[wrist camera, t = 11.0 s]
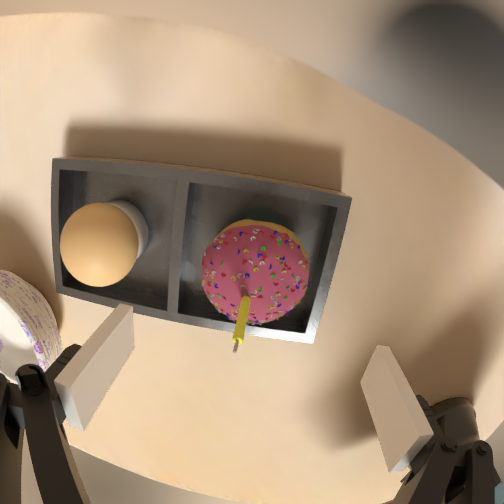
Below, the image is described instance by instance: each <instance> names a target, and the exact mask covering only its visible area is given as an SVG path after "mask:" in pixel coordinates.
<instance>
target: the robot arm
mask: <svg viewBox="0 0 504 504" xmlns="http://www.w3.org/2000/svg"><path fill="white" fill-rule="evenodd" d="M133 349H134V327H133V306H129V305H125V304H121V303H120V304H119V305H118V306H117V307H116V308H115V309H114V311H113V312H112V313H111V314H110V315H109V316H108V317H107V318H106V320H105V321H104V322H103V323H102V324H101V325H100V326H99V328H98V329H97V330H96V331H95V332H94V333H93V334H92V336H91V337H90V338H89V339H88V340H87V341H86V343H85V344H84V345H83V346H80V345H77V344H73V345H71V346H69V347H67V348H66V349H65V350H64V351H63V352H62V353H61V354H60V356H58V358H57V359H56V360H55V361H54V362H53V363H52V364H51V366H50V367H49V368H48V369H47V370H46V371H45V372H44V371H43V369H42V368H41V367H40V366H39V365H36V364H25V365H22V366H21V367H19V368H18V369H17V371H16V373H15V378H16V380H17V383H18V384H14V383H9V382H8V381H7V378H6V376H5V375H4V374H2V373H0V504H21V464H22V448H23V437H24V429H26V435H27V440H28V446H29V451H30V455H31V460H32V464H33V468H34V472H35V476H36V480H37V484H38V487H39V491H40V494H41V497H42V500H43V503H44V504H91V502H90V500H89V498H88V495H87V493H86V490H85V488H84V486H83V483H82V481H81V478H80V476H79V473H78V470H77V467H76V465H75V462H74V459H73V456H72V453H71V450H70V447H69V443H68V440H67V437H66V433H65V430H64V427H63V424H62V423H63V421H64V420H65V418H67V421H68V424H69V425H70V426H72V427H74V428H77V429H79V430H81V431H85V429H86V427H87V425H88V424H89V422H90V420H91V419H92V417H93V415H94V413H95V412H96V410H97V408H98V407H99V405H100V403H101V402H102V400H103V398H104V397H105V395H106V393H107V392H108V390H109V388H110V387H111V385H112V383H113V382H114V380H115V378H116V377H117V375H118V373H119V372H120V370H121V369H122V367H123V365H124V364H125V362H126V360H127V359H128V357H129V356H130V354H131V353H132V351H133ZM360 384H361V387H362V390H363V393H364V396H365V399H366V402H367V405H368V408H369V411H370V414H371V417H372V420H373V423H374V426H375V429H376V432H377V435H378V438H379V441H380V444H381V448H382V451H383V454H384V457H385V461H386V464H387V467H388V471H389V473H391V472H399V471H403V470H404V469H405V468H406V467H407V466H408V467H409V469H410V470H411V471H410V472H409V473H408V474H407V475H406V476H405V477H404V478H403V479H402V480H401V481H400V482H403V481H404V482H403V484H402V486H401V488H400V489H399V491H398V493H397V495H396V496H395V498H394V499H393V500H391V501H388V502H385V503H382V504H504V487H503V481H501V479H500V477H499V475H498V474H497V471H496V469H495V468H494V465H493V453H492V449H491V447H490V445H489V444H488V443H487V442H485V441H482V440H480V438H479V433H478V427H477V422H476V413H475V410H474V408H473V406H472V405H471V403H470V401H469V400H467V399H465V398H453V399H449V400H446V401H443V402H441V403H439V404H437V405H435V406H433V407H431V408H430V407H429V405H428V403H427V401H426V400H425V399H424V398H423V397H422V396H421V395H415V394H414V392H413V391H412V389H411V387H410V385H409V383H408V381H407V379H406V377H405V375H404V373H403V372H402V370H401V368H400V366H399V364H398V362H397V360H396V359H395V357H394V355H393V353H392V351H391V350H390V348H389V346H383V345H376V348H375V350H374V352H373V355H372V357H371V359H370V361H369V364H368V366H367V368H366V370H365V373H364V375H363V377H362V379H361V381H360Z"/></svg>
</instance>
